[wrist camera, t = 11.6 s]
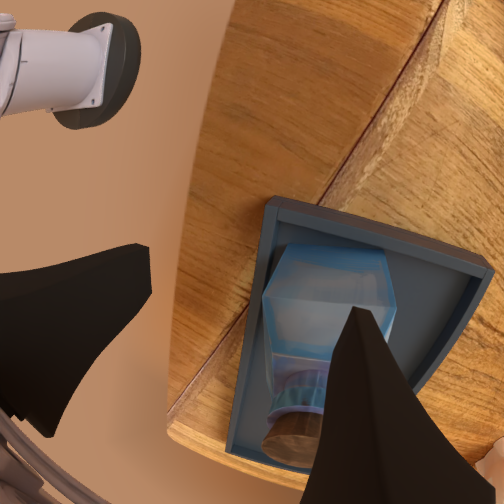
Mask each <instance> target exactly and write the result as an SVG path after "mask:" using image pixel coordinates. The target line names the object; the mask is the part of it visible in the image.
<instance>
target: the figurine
mask: <svg viewBox="0 0 504 504" xmlns="http://www.w3.org/2000/svg"><path fill="white" fill-rule="evenodd" d="M475 465H476V467H477V470H478V471H479V473H480V474H481V475H482V476H484V478H485V479H486V480H487V481H488V482H489V483H490V484H491V485H492V486H494V487H495V489H496V504H504V437H502V438H500V439H499V440H497V441H496V442H495V443H494V447H493V448H492V449H491V450H490V451H489V452H488V453H487V454H486V456H485V458H483V459H481V460H479V461H478V462H476V463H475Z"/></svg>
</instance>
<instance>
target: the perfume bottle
mask: <svg viewBox="0 0 504 504" xmlns="http://www.w3.org/2000/svg"><path fill="white" fill-rule="evenodd" d="M262 306H263V324H264V342H265V361H266V380H267V385H268V388H269V392H270V396H271V399H272V405H271V408H270V411H269V414H268V417H267V420H266V423H267V425H268V428H269V429H270V431H269V432H268V434H267V435H266V437H265V438H264V440H263V441H262V444H261V448H262V450H263V452H264V453H265V454H267V455H268V456H269V457H270V458H272V459H274V460H276V461H278V462H281V463H284V464H287V465H291V466H295V467H301V468H312V466H313V463H314V459H315V456H316V452H317V449H318V445H319V440H320V435H321V428H322V420H323V412H324V404H325V395H326V386H327V377H328V372H329V367H330V363H331V358H332V353H333V350H334V347H335V345H336V343H337V341H338V339H339V337H340V334H341V332H342V330H343V328H344V325H345V323H346V321H347V318H348V316H349V314H350V311H351V309H352V306H356V307H359V308H363V309H367V310H371V312H372V314H373V316H374V318H375V320H376V322H377V324H378V326H379V328H380V330H381V332H382V334H383V337H384V339H385V341H386V343H387V342H388V339H389V335H390V332H391V328H392V325H393V321H394V317H395V313H396V309H397V307H396V302H395V297H394V292H393V287H392V282H391V278H390V273H389V269H388V265H387V261H386V257H385V253H384V250H376V249H363V248H349V247H335V246H321V245H306V244H291V243H288V245H287V247H286V249H285V251H284V253H283V255H282V257H281V259H280V261H279V263H278V265H277V267H276V269H275V271H274V273H273V275H272V277H271V279H270V281H269V283H268V285H267V287H266V289H265V291H264V293H263V295H262Z"/></svg>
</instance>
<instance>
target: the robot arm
mask: <svg viewBox="0 0 504 504" xmlns="http://www.w3.org/2000/svg"><path fill="white" fill-rule="evenodd" d="M15 24H16V20H14V17H13V15H12V14H5V13H0V118H1V117H3V116H6V115H12V114H17V113H22V112H27V111H33V110H39V109H46V112H47V113H50V112H56V111H64V110H71V109H80V108H90V107H100V106H101V105H102V103H103V95H104V84H105V75H106V67H107V60H108V53H109V47H110V41H111V35H112V30H113V24H111V23H107V24H103V25H100V26H97V27H94V28H92V29H89V30H86V31H83V32H81V33H74V32H65V31H53V30H29V29H27V30H26V29H15V28H14V27H15ZM104 28H105V29H104ZM94 100H95V103H94ZM151 294H152V287H151V274H150V256H149V247H147V246H143V245H140V244H137V243H135V244H130V245H124V246H120V247H116V248H113V249H109V250H106V251H102V252H99V253H96V254H92V255H89V256H85V257H82V258H79V259H75V260H71V261H68V262H64V263H60V264H57V265H53V266H48V267H43V268H38V269H33V270H27V271H19V272H11V273H0V504H61V503H60V502H58V501H57V500H56V499H55V498H53V497H52V496H51V495H50V494H48V493H47V492H46V491H45V490H44V489H42V488H41V487H42V486H43V484H44V482H43V480H42V479H41V477H40V476H39V475H38V474H37V473H36V471H37V472H38V473H39V474H40V475H41V476H42V477H43V478H44V479H45V480H47V481H48V482H49V483H50V484H51V485H52V486H53V487H55V488H56V489H57V490H58V491H59V492H61V493H62V494H63V495H64V496H66V497H67V498H68V499H69V500H71V501H72V502H73V503H75V504H111V503H109V502H108V501H106V500H104V499H103V498H101V497H100V496H98V495H97V494H95V493H94V492H92V491H91V490H90V489H88V488H87V487H85V486H84V485H83V484H81V483H80V482H78V481H77V480H76V479H75V478H73V477H72V476H71V475H69V474H68V473H67V472H66V471H64V470H63V469H62V468H61V467H60V466H58V465H57V464H56V463H55V462H54V461H53V460H51V459H50V458H49V457H48V456H47V455H46V454H45V453H44V452H42V451H41V450H40V449H39V448H38V447H37V446H36V445H35V444H34V443H33V442H32V441H31V440H30V439H29V438H28V437H27V436H26V435H25V434H24V433H23V432H22V431H21V430H20V429H19V428H18V427H17V426H16V425H15V424H14V423H13V421H12V420H11V419H10V418H11V417H12V416H13V415H15V416H16V417H17V418H18V419H19V420H20V421H23V420H24V419H26V420H27V421H28V422H29V423H30V424H31V425H32V426H33V427H34V428H35V429H36V430H37V431H38V432H40V433H41V434H42V435H43V436H44V437H46V438H51V437H54V434H55V431H56V429H57V426H58V424H59V422H60V419H61V417H62V415H63V412H64V410H65V408H66V407H67V405H68V403H69V401H70V399H71V397H72V395H73V393H74V391H75V390H76V388H77V387H78V385H79V383H80V382H81V380H82V379H83V377H84V375H85V374H86V372H87V371H88V370H89V368H90V367H91V365H92V364H93V362H94V361H95V360H96V358H97V357H98V356H99V355H100V354H101V352H102V351H103V350H104V349H105V348H106V347H107V345H109V343H110V342H111V341H112V340H113V339H114V338H115V337H116V336H117V335H118V334H119V333H120V332H121V331H122V330H123V329H124V328H125V326H126V325H127V324H128V323H129V322H130V321H131V320H132V319H133V318H134V317H135V316H136V315H137V313H138V312H139V311H140V309H141V308H142V307H143V305H144V304H145V303H146V301H147V300H148V298H149V297H150V295H151ZM7 441H8V442H9V443H10V444H11V446H12V447H13V448H14V449H15V450H16V451H17V452H18V453H19V454H20V455H21V456H22V457H23V458H24V459H25V460H26V461H27V463H29V464H30V465H31V466H32V467H33V468H34V469H35V470H36V471H34V469H32V468H31V467H30V466H29V465H28V464H27V463H26V462H25V461H23V460H22V459H21V458H20V457H19V456H18V455H17V454H15V453H14V452H13V451H12V450H11V449H10V448H8V446H7ZM300 504H496V489H495V487H494V486H492V485H491V484H490V483H489V482H488V481H487V480H486V479H485V478H484V477H482V476H481V475H480V474H479V473H478V472H477V471H476V470H475V469H474V468H473V467H472V466H471V465H470V464H469V463H468V462H467V461H466V460H465V459H464V458H463V457H462V456H461V455H460V454H459V453H458V451H457V450H456V449H455V448H454V447H453V446H452V445H451V443H450V442H449V441H448V440H447V439H446V437H445V436H444V435H443V433H442V432H441V431H440V430H439V428H438V427H437V426H436V424H435V423H434V422H433V420H432V419H431V418H430V416H429V415H428V413H427V412H426V410H425V409H424V407H423V406H422V404H421V403H420V401H419V400H418V398H417V397H416V395H415V394H414V392H413V390H412V389H411V387H410V385H409V384H408V382H407V380H406V378H405V377H404V375H403V373H402V371H401V370H400V368H399V366H398V364H397V362H396V360H395V358H394V356H393V355H392V353H391V351H390V349H389V347H388V345H387V343H386V341H385V339H384V337H383V334H382V332H381V330H380V328H379V326H378V324H377V322H376V320H375V318H374V316H373V314H372V312H371V310H367V309H363V308H359V307H356V306H352V309H351V311H350V314H349V316H348V318H347V321H346V323H345V325H344V328H343V330H342V332H341V334H340V337H339V339H338V341H337V343H336V345H335V347H334V350H333V353H332V358H331V363H330V367H329V372H328V377H327V386H326V395H325V404H324V412H323V420H322V428H321V435H320V440H319V445H318V449H317V452H316V456H315V459H314V463H313V466H312V470H311V473H310V476H309V479H308V482H307V485H306V488H305V490H304V493H303V496H302V499H301V501H300Z"/></svg>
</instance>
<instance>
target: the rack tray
mask: <svg viewBox="0 0 504 504" xmlns="http://www.w3.org/2000/svg"><path fill="white" fill-rule="evenodd" d="M288 243H291V244H306V245H321V246H335V247H349V248H363V249H376V250H384V253H385V257H386V261H387V265H388V269H389V273H390V278H391V282H392V287H393V292H394V297H395V302H396V307H397V309H396V313H395V317H394V321H393V325H392V328H391V332H390V335H389V339H388V342H387V345H388V347H389V349H390V351H391V353H392V355H393V356H394V358H395V360H396V362H397V364H398V366H399V368H400V370H401V371H402V373H403V375H404V377H405V378H406V380H407V382H408V384H409V385H410V387H411V389H412V390H413V392H414V394H415V395H416V394H417V393H418V392H419V391H420V390H421V388H422V387H423V386H424V385H425V384H426V382H427V381H428V380H429V379H430V377H431V376H432V375H433V373H434V372H435V371H436V369H437V368H438V367H439V365H440V364H441V363H442V361H443V360H444V359H445V357H446V356H447V354H448V353H449V351H450V350H451V349H452V347H453V346H454V344H455V343H456V341H457V340H458V338H459V336H460V335H461V333H462V332H463V330H464V329H465V327H466V325H467V324H468V322H469V320H470V319H471V317H472V315H473V314H474V312H475V310H476V308H477V307H478V305H479V303H480V301H481V299H482V297H483V296H484V294H485V292H486V290H487V288H488V286H489V284H490V282H491V280H492V278H493V276H494V273H495V270H494V269H493V268H492V267H491V265H490V264H489V263H488V262H487V260H486V259H485V258H484V257H483V256H481V255H478V254H476V253H473V252H470V251H467V250H465V249H462V248H459V247H456V246H453V245H450V244H447V243H444V242H441V241H438V240H435V239H432V238H429V237H426V236H423V235H420V234H417V233H414V232H410V231H407V230H404V229H401V228H397V227H394V226H391V225H387V224H384V223H381V222H377V221H374V220H370V219H367V218H363V217H359V216H356V215H352V214H348V213H345V212H341V211H337V210H333V209H329V208H326V207H322V206H318V205H314V204H310V203H305V202H301V201H297V200H293V199H289V198H284V197H280V196H276V195H275V196H273V197H272V199H270V200H269V201H268V202H267V203H266V205H265V209H264V216H263V222H262V228H261V235H260V241H259V247H258V253H257V260H256V266H255V272H254V279H253V285H252V291H251V297H250V303H249V310H248V316H247V322H246V328H245V334H244V340H243V346H242V352H241V359H240V365H239V371H238V377H237V383H236V389H235V395H234V401H233V407H232V413H231V419H230V424H229V430H228V436H227V442H226V448H225V452H227V453H229V454H232V455H235V456H238V457H241V458H245V459H248V460H251V461H254V462H258V463H261V464H265V465H268V466H272V467H276V468H280V469H284V470H288V471H293V472H297V473H302V474H307V475H310V473H311V470H312V468H301V467H295V466H291V465H287V464H284V463H281V462H278V461H276V460H274V459H272V458H270V457H269V456H268V455H267V454H265V453H264V452H263V450H262V448H261V444H262V441H263V440H264V438H265V437H266V435H267V434H268V432H269V431H270V429H269V428H268V425H267V423H266V420H267V417H268V414H269V411H270V408H271V405H272V399H271V396H270V392H269V388H268V385H267V380H266V361H265V342H264V324H263V306H262V295H263V293H264V291H265V289H266V287H267V285H268V283H269V281H270V279H271V277H272V275H273V273H274V271H275V269H276V267H277V265H278V263H279V261H280V259H281V257H282V255H283V253H284V251H285V249H286V247H287V245H288Z"/></svg>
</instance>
